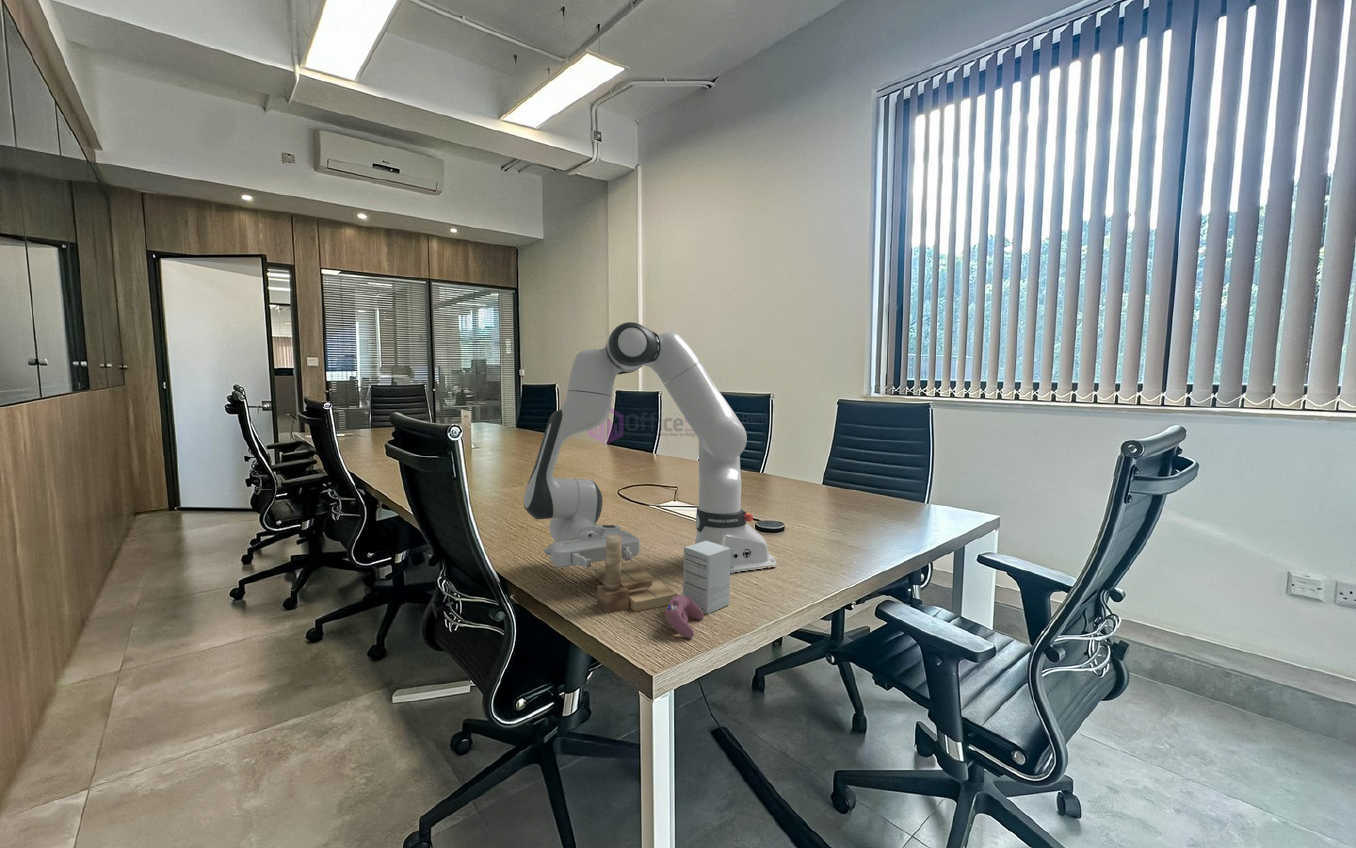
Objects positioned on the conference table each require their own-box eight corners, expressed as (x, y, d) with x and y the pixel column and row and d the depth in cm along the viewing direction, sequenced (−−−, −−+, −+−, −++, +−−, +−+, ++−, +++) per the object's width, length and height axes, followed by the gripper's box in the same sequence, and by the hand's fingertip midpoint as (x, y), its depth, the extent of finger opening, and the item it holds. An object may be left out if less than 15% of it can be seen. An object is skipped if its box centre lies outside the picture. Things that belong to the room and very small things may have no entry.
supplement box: (704, 594, 122) (706, 539, 120) (730, 605, 116) (732, 547, 115) (681, 603, 116) (682, 546, 115) (706, 615, 111) (708, 555, 110)
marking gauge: (606, 613, 111) (607, 541, 109) (597, 604, 115) (598, 535, 114) (655, 603, 116) (656, 534, 115) (644, 595, 121) (646, 528, 119)
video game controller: (686, 623, 111) (672, 591, 111) (706, 616, 109) (692, 584, 110) (673, 646, 101) (657, 611, 102) (694, 638, 100) (679, 603, 100)
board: (594, 576, 131) (595, 568, 130) (632, 570, 136) (632, 562, 135) (635, 611, 112) (635, 602, 112) (677, 602, 117) (677, 593, 117)
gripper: (541, 534, 121) (561, 552, 110) (624, 524, 132) (651, 539, 120) (541, 562, 122) (561, 583, 110) (623, 549, 132) (650, 567, 121)
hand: (609, 560), depth 115 cm, fingers open, 8 cm apart
